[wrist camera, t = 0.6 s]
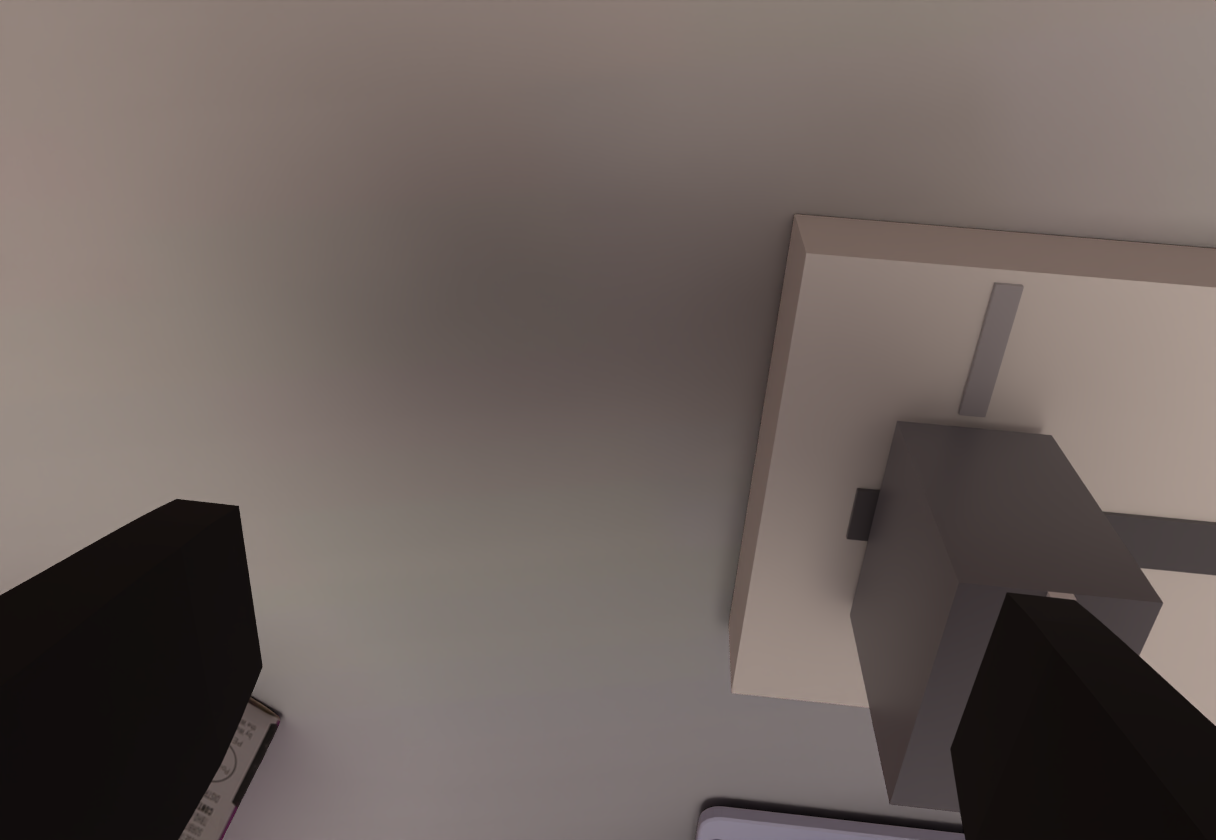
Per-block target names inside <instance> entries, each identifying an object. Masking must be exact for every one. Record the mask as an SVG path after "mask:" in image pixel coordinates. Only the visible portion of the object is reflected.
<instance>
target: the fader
mask: <svg viewBox="0 0 1216 840" xmlns="http://www.w3.org/2000/svg"><path fill="white" fill-rule="evenodd" d="M1007 592H1009V593H1018V594H1027V595H1036V596H1045V597H1054V598H1063V599H1072V600H1075V601H1077V602H1078V603H1079V604H1080V605H1082V606H1083V607H1084V608H1085V609H1086V610H1088V611H1089V612H1090V613H1091V614H1093V615H1094V616H1095V617H1096V618H1097V619H1098V620H1100V621H1101V622H1102V623H1103V624H1104V625H1105V626H1106V627H1108V628H1109V629H1110V630H1111V631H1112V632H1113V633H1114V634H1115V635H1117V636H1118V637H1119V638H1120V639H1121V640H1122V641H1123V642H1124V643H1126V644H1127V645H1128V646H1129V647H1130V648H1131V649H1132V650H1133V651H1134V652H1135V653H1137V654H1138V655H1140V653H1141V651H1142V649H1143V647H1144V644H1145V642H1146V640H1147V638H1148V636H1149V633H1150V631H1151V629H1152V627H1153V625H1154V622H1155V620H1156V618H1157V616H1158V614H1159V612H1160V609H1161V607H1162V605H1163V602H1162V600H1161V599H1160V597H1159V596H1158V594H1157V593H1156V591H1155V590H1154V588H1153V587H1152V585H1151V584H1150V582H1149V581H1148V579H1147V578H1146V576H1145V575H1144V573H1143V572H1142V570H1141V569H1140V567H1139V566H1138V564H1137V563H1136V561H1135V560H1134V558H1133V557H1132V555H1131V554H1130V552H1129V551H1128V549H1127V548H1126V546H1125V545H1124V543H1123V542H1122V540H1121V539H1120V537H1119V536H1118V534H1117V533H1116V531H1115V530H1114V528H1113V527H1112V525H1111V524H1110V522H1109V520H1108V519H1107V517H1106V516H1105V514H1104V513H1103V511H1102V510H1101V508H1100V507H1099V505H1098V504H1097V502H1096V501H1095V499H1094V498H1093V496H1092V495H1091V493H1090V492H1089V490H1088V489H1087V487H1086V486H1085V484H1084V483H1083V481H1082V480H1081V478H1080V477H1079V475H1078V474H1077V472H1076V471H1075V469H1074V468H1073V466H1072V465H1071V463H1070V462H1069V460H1068V459H1067V457H1066V456H1065V454H1064V453H1063V451H1062V450H1061V448H1060V447H1059V445H1058V444H1057V442H1056V441H1055V439H1054V438H1053V436H1052V435H1045V434H1034V433H1023V432H1012V431H1001V430H991V429H980V428H969V427H958V426H947V425H936V424H926V423H915V422H904V421H897V423H896V427H895V431H894V435H893V439H892V444H891V448H890V452H889V456H888V460H887V464H886V468H885V472H884V476H883V481H882V485H881V489H880V493H879V497H878V501H877V505H876V509H875V513H874V517H873V522H872V526H871V530H870V534H869V538H868V542H867V546H866V550H865V554H864V559H863V563H862V567H861V571H860V575H859V579H858V583H857V587H856V591H855V596H854V600H853V604H852V608H851V612H850V619H851V623H852V628H853V633H854V638H855V642H856V647H857V652H858V657H859V661H860V666H861V671H862V675H863V680H864V685H865V690H866V694H867V699H868V704H869V709H870V713H871V718H872V723H873V727H874V732H875V737H876V742H877V746H878V751H879V756H880V761H881V765H882V770H883V775H884V779H885V784H886V789H887V794H888V798H889V803H890V804H892V805H900V806H909V807H918V808H927V809H936V810H945V811H954V812H960V808H959V802H958V796H957V789H956V783H955V777H954V770H953V764H952V757H951V751H950V748H951V745H952V743H953V740H954V737H955V734H956V732H957V729H958V726H959V723H960V720H961V718H962V715H963V712H964V709H965V707H966V704H967V701H968V698H969V696H970V693H971V690H972V687H973V684H974V682H975V679H976V676H977V673H978V671H979V668H980V665H981V662H982V660H983V657H984V654H985V651H986V648H987V646H988V643H989V640H990V637H991V635H992V632H993V629H994V626H995V624H996V621H997V618H998V615H999V612H1000V610H1001V607H1002V604H1003V601H1004V599H1005V596H1006V593H1007Z"/></svg>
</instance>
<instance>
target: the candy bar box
mask: <svg viewBox="0 0 1216 840" xmlns="http://www.w3.org/2000/svg"><path fill="white" fill-rule="evenodd" d="M279 723H280V717H279V716H278V715H277V714H275V713H274V712H272V711H271V710H270V709H268V708H267V707H266V706H264V705H263V704H261V703H259V702H258V701H256V700H254V699H253V698H252V697H250V699H249V701H248V704H247V706H246V709H245V711H244V714H243V716H242V719H241V721H240V723H239V725H238V728H237V730H236V732H235V735H234V737H233V739H232V741H231V744H230V746H229V748H228V750H227V753H226V755H225V757H224V760H223V762H222V764H221V766H220V768H219V769H218V771H217V773H216V775H215V776H214V778H213V780H212V782H211V784H210V785H209V787H208V789H207V791H206V793H205V794H204V796H203V798H202V799H201V801H200V803H199V805H198V806H197V808H196V810H195V812H194V813H193V815H192V817H191V819H190V820H189V822H188V824H187V826H186V827H185V829H184V831H183V833H182V834H181V836H180V838H179V840H222V839H223V837H224V835H225V833H226V830H227V828H228V827H229V825H230V823H231V821H232V819H233V817H234V815H235V813H236V811H237V809H238V807H239V804H240V802H241V800H242V798H243V796H244V794H245V793H246V791H247V789H248V787H249V785H250V783H251V781H252V779H253V777H254V775H255V773H256V771H257V769H258V767H259V765H260V763H261V761H262V759H263V757H264V755H265V753H266V751H267V749H268V747H269V745H270V743H271V741H272V739H273V737H274V735H275V732H276V730H277V728H278V726H279Z"/></svg>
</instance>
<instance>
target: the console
mask: <svg viewBox="0 0 1216 840" xmlns="http://www.w3.org/2000/svg"><path fill="white" fill-rule="evenodd" d="M897 421H904V422H915V423H926V424H936V425H947V426H958V427H969V428H980V429H991V430H1001V431H1012V432H1023V433H1034V434H1045V435H1052V436H1053V438H1054V439H1055V441H1056V442H1057V444H1058V445H1059V447H1060V448H1061V450H1062V451H1063V453H1064V454H1065V456H1066V457H1067V459H1068V460H1069V462H1070V463H1071V465H1072V466H1073V468H1074V469H1075V471H1076V472H1077V474H1078V475H1079V477H1080V478H1081V480H1082V481H1083V483H1084V484H1085V486H1086V487H1087V489H1088V490H1089V492H1090V493H1091V495H1092V496H1093V498H1094V499H1095V501H1096V502H1097V504H1098V505H1099V507H1100V508H1101V510H1102V511H1103V513H1104V514H1105V516H1106V517H1107V519H1108V520H1109V522H1110V524H1111V525H1112V527H1113V528H1114V530H1115V531H1116V533H1117V534H1118V536H1119V537H1120V539H1121V540H1122V542H1123V543H1124V545H1125V546H1126V548H1127V549H1128V551H1129V552H1130V554H1131V555H1132V557H1133V558H1134V560H1135V561H1136V563H1137V564H1138V566H1139V567H1140V569H1141V570H1142V572H1143V573H1144V575H1145V576H1146V578H1147V579H1148V581H1149V582H1150V584H1151V585H1152V587H1153V588H1154V590H1155V591H1156V593H1157V594H1158V596H1159V597H1160V599H1161V600H1162V602H1163V605H1162V607H1161V609H1160V612H1159V614H1158V616H1157V618H1156V620H1155V622H1154V625H1153V627H1152V629H1151V631H1150V633H1149V636H1148V638H1147V640H1146V642H1145V644H1144V647H1143V649H1142V651H1141V653H1140V655H1139V656H1140V657H1141V658H1142V659H1143V660H1144V661H1145V662H1146V663H1148V664H1149V665H1150V666H1151V667H1152V668H1153V669H1154V670H1155V671H1156V672H1157V673H1158V674H1160V675H1161V676H1162V677H1163V678H1164V679H1165V680H1166V681H1167V682H1168V683H1169V684H1170V685H1172V686H1173V687H1174V688H1175V689H1176V690H1177V691H1178V692H1179V693H1180V694H1181V695H1182V696H1184V697H1185V698H1186V699H1187V700H1188V701H1189V702H1190V703H1191V704H1192V705H1193V706H1194V707H1195V708H1197V709H1198V710H1199V711H1200V712H1201V713H1202V714H1203V715H1204V716H1205V717H1206V718H1208V719H1209V720H1210V721H1211V722H1212V723H1213V724H1214V725H1215V726H1216V249H1214V248H1201V247H1189V246H1177V245H1165V244H1153V243H1141V242H1128V241H1116V240H1104V239H1092V238H1080V237H1068V236H1055V235H1043V234H1031V233H1019V232H1007V231H995V230H983V229H970V228H958V227H946V226H934V225H922V224H910V223H897V222H885V221H873V220H861V219H849V218H837V217H824V216H812V215H800V214H794V220H793V226H792V232H791V238H790V245H789V251H788V257H787V263H786V269H785V276H784V282H783V288H782V294H781V301H780V307H779V313H778V319H777V326H776V332H775V338H774V344H773V350H772V357H771V363H770V369H769V375H768V382H767V388H766V394H765V400H764V406H763V413H762V419H761V425H760V431H759V438H758V444H757V450H756V456H755V463H754V469H753V475H752V481H751V487H750V494H749V500H748V506H747V512H746V519H745V525H744V531H743V537H742V544H741V550H740V556H739V562H738V568H737V575H736V581H735V587H734V593H733V600H732V606H731V612H730V618H729V647H730V672H731V693H735V694H745V695H754V696H763V697H773V698H782V699H791V700H801V701H810V702H819V703H829V704H838V705H847V706H857V707H866V708H869V704H868V699H867V694H866V690H865V685H864V680H863V675H862V671H861V666H860V661H859V657H858V652H857V647H856V642H855V638H854V633H853V628H852V623H851V619H850V612H851V608H852V604H853V600H854V596H855V591H856V587H857V583H858V579H859V575H860V571H861V567H862V563H863V559H864V554H865V550H866V546H867V542H868V538H869V534H870V530H871V526H872V522H873V517H874V513H875V509H876V505H877V501H878V497H879V493H880V489H881V485H882V481H883V476H884V472H885V468H886V464H887V460H888V456H889V452H890V448H891V444H892V439H893V435H894V431H895V427H896V423H897Z"/></svg>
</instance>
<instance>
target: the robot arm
mask: <svg viewBox="0 0 1216 840" xmlns="http://www.w3.org/2000/svg"><path fill="white" fill-rule="evenodd" d="M261 669H262V660H261V653H260V646H259V640H258V633H257V626H256V619H255V613H254V606H253V599H252V592H251V586H250V579H249V572H248V565H247V559H246V552H245V545H244V538H243V532H242V525H241V518H240V511H239V506H234V505H225V504H217V503H208V502H199V501H190V500H181V499H176V500H173V501H171V502H169V503H167V504H165V505H163V506H161V507H159V508H157V509H155V510H153V511H151V512H149V513H147V514H145V515H143V516H141V517H140V518H138V519H136V520H134V521H132V522H130V523H129V524H127V525H125V526H123V527H121V528H119V529H118V530H116V531H114V532H112V533H110V534H109V535H107V536H105V537H103V538H101V539H100V540H98V541H96V542H94V543H93V544H91V545H89V546H87V547H85V548H84V549H82V550H80V551H78V552H77V553H75V554H73V555H71V556H70V557H68V558H66V559H64V560H63V561H61V562H59V563H57V564H55V565H54V566H52V567H50V568H48V569H47V570H45V571H43V572H41V573H39V574H38V575H36V576H34V577H32V578H31V579H29V580H27V581H25V582H23V583H22V584H20V585H18V586H16V587H14V588H13V589H11V590H9V591H7V592H5V593H4V594H2V595H0V840H179V838H180V836H181V834H182V833H183V831H184V829H185V827H186V826H187V824H188V822H189V820H190V819H191V817H192V815H193V813H194V812H195V810H196V808H197V806H198V805H199V803H200V801H201V799H202V798H203V796H204V794H205V793H206V791H207V789H208V787H209V785H210V784H211V782H212V780H213V778H214V776H215V775H216V773H217V771H218V769H219V768H220V766H221V764H222V762H223V760H224V757H225V755H226V753H227V750H228V748H229V746H230V744H231V741H232V739H233V737H234V735H235V732H236V730H237V728H238V725H239V723H240V721H241V719H242V716H243V714H244V711H245V709H246V706H247V704H248V701H249V699H250V696H251V694H252V691H253V689H254V687H255V684H256V682H257V679H258V677H259V674H260V672H261ZM950 751H951V757H952V764H953V770H954V777H955V783H956V789H957V796H958V802H959V808H960V814H961V819H962V824H963V830H964V834H963V833H955V832H946V831H937V830H928V829H919V828H910V827H901V826H893V825H884V824H875V823H866V822H857V821H848V820H839V819H830V818H822V817H813V816H804V815H795V814H786V813H777V812H768V811H760V810H751V809H742V808H733V807H724V806H714V807H710V808H707V809H706V810H704V811H703V812H702V813H701V814H700V817H699V820H698V826H697V832H696V839H695V840H1216V726H1215V725H1214V724H1213V723H1212V722H1211V721H1210V720H1209V719H1208V718H1206V717H1205V716H1204V715H1203V714H1202V713H1201V712H1200V711H1199V710H1198V709H1197V708H1195V707H1194V706H1193V705H1192V704H1191V703H1190V702H1189V701H1188V700H1187V699H1186V698H1185V697H1184V696H1182V695H1181V694H1180V693H1179V692H1178V691H1177V690H1176V689H1175V688H1174V687H1173V686H1172V685H1170V684H1169V683H1168V682H1167V681H1166V680H1165V679H1164V678H1163V677H1162V676H1161V675H1160V674H1158V673H1157V672H1156V671H1155V670H1154V669H1153V668H1152V667H1151V666H1150V665H1149V664H1148V663H1146V662H1145V661H1144V660H1143V659H1142V658H1141V657H1140V656H1139V655H1138V654H1137V653H1135V652H1134V651H1133V650H1132V649H1131V648H1130V647H1129V646H1128V645H1127V644H1126V643H1124V642H1123V641H1122V640H1121V639H1120V638H1119V637H1118V636H1117V635H1115V634H1114V633H1113V632H1112V631H1111V630H1110V629H1109V628H1108V627H1106V626H1105V625H1104V624H1103V623H1102V622H1101V621H1100V620H1098V619H1097V618H1096V617H1095V616H1094V615H1093V614H1091V613H1090V612H1089V611H1088V610H1086V609H1085V608H1084V607H1083V606H1082V605H1080V604H1079V603H1078V602H1077V601H1075V600H1072V599H1063V598H1054V597H1045V596H1036V595H1027V594H1018V593H1009V592H1007V593H1006V596H1005V599H1004V601H1003V604H1002V607H1001V610H1000V612H999V615H998V618H997V621H996V624H995V626H994V629H993V632H992V635H991V637H990V640H989V643H988V646H987V648H986V651H985V654H984V657H983V660H982V662H981V665H980V668H979V671H978V673H977V676H976V679H975V682H974V684H973V687H972V690H971V693H970V696H969V698H968V701H967V704H966V707H965V709H964V712H963V715H962V718H961V720H960V723H959V726H958V729H957V732H956V734H955V737H954V740H953V743H952V745H951V748H950Z"/></svg>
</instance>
